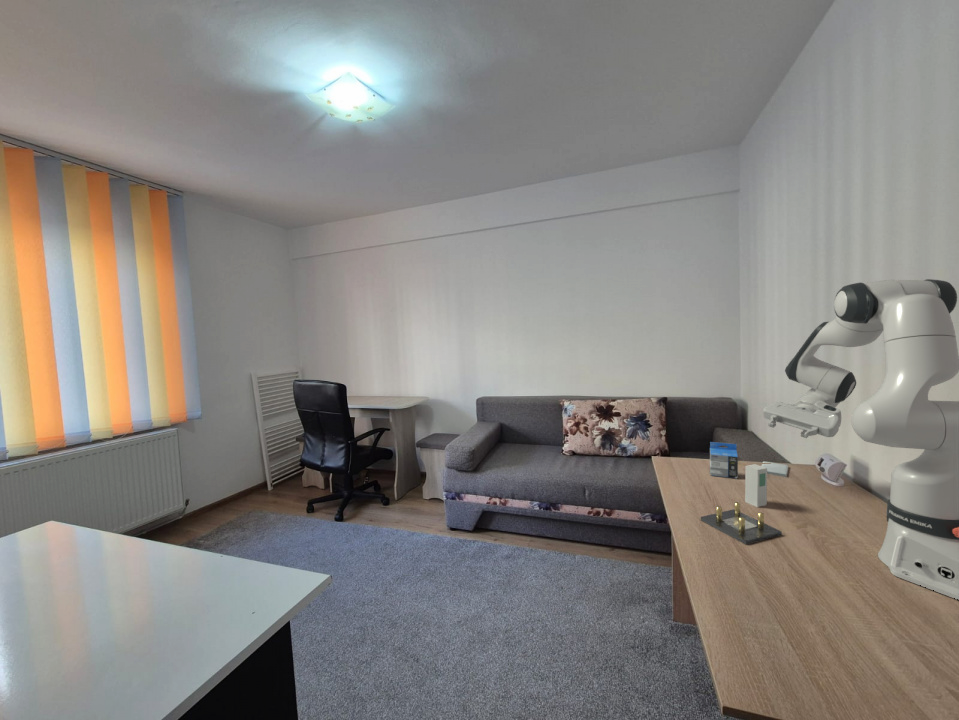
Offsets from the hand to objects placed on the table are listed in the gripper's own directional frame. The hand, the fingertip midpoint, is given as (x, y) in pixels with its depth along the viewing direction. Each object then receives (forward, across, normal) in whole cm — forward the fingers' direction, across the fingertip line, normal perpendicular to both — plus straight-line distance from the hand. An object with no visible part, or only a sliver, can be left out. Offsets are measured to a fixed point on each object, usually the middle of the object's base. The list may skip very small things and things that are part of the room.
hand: (786, 430), depth 127 cm
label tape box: (+10, -16, +22) cm, 30 cm away
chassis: (+40, +8, +6) cm, 41 cm away
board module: (+23, +2, +14) cm, 27 cm away
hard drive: (-9, -10, +30) cm, 33 cm away
